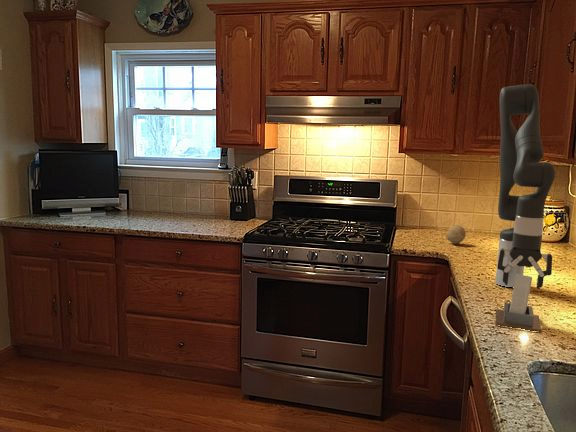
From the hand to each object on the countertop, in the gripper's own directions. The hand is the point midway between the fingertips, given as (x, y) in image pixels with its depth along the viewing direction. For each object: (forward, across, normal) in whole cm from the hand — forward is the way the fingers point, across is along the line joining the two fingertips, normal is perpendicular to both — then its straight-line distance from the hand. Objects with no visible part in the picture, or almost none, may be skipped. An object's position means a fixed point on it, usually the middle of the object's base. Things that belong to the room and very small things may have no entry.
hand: (522, 286), depth 150 cm
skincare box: (+9, 0, 0) cm, 9 cm away
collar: (+11, 0, 0) cm, 11 cm away
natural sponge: (+12, -26, +108) cm, 112 cm away
